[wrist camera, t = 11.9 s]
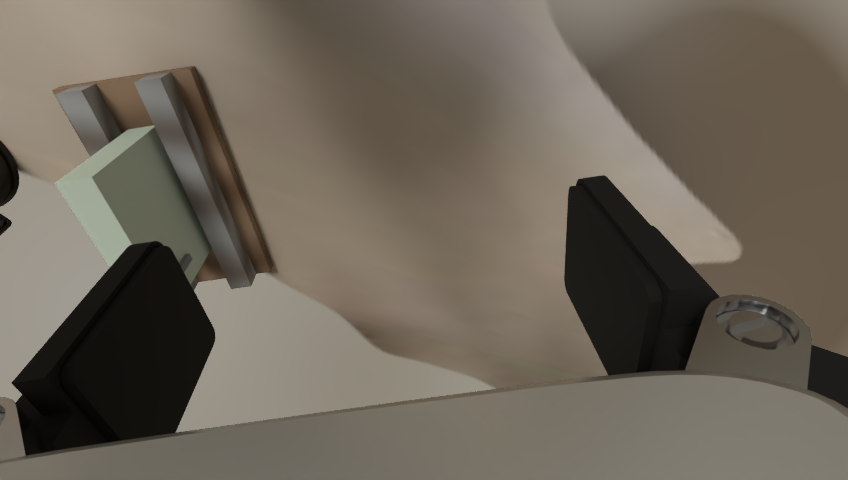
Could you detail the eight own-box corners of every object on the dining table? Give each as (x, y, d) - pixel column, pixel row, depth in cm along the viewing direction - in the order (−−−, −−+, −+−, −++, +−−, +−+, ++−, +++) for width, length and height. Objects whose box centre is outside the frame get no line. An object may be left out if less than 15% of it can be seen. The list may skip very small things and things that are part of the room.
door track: (59, 86, 37) (35, 97, 34) (194, 66, 37) (179, 75, 34) (168, 280, 48) (156, 299, 45) (272, 265, 48) (266, 283, 45)
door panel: (127, 129, 38) (53, 183, 30) (162, 124, 38) (97, 176, 30) (189, 247, 45) (142, 318, 36) (218, 243, 44) (178, 313, 36)
